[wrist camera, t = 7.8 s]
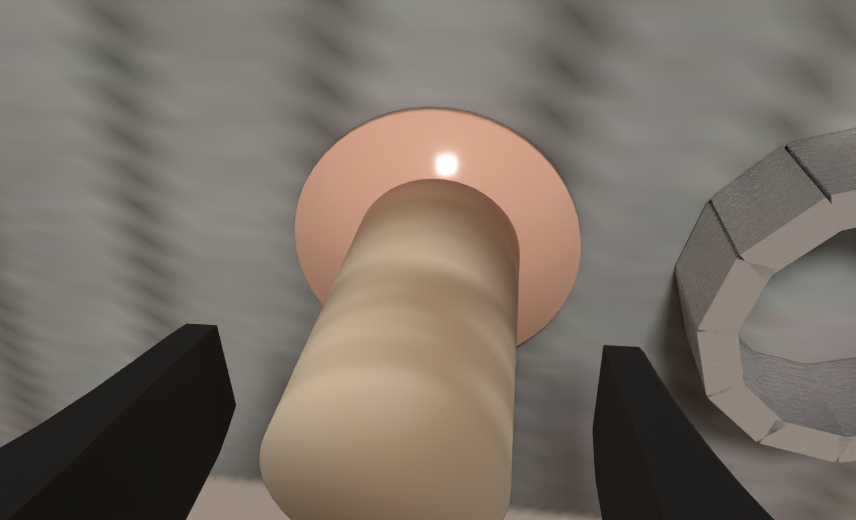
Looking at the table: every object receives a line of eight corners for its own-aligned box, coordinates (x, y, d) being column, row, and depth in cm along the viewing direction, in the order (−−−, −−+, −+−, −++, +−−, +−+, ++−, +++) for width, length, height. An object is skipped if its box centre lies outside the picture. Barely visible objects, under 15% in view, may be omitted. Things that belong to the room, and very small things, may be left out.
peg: (554, 253, 16) (565, 493, 10) (444, 344, 18) (400, 590, 12) (428, 144, 15) (358, 341, 9) (325, 253, 17) (214, 474, 11)
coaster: (641, 247, 16) (643, 255, 16) (443, 392, 19) (442, 402, 19) (426, 40, 14) (424, 45, 14) (246, 239, 18) (240, 247, 17)
